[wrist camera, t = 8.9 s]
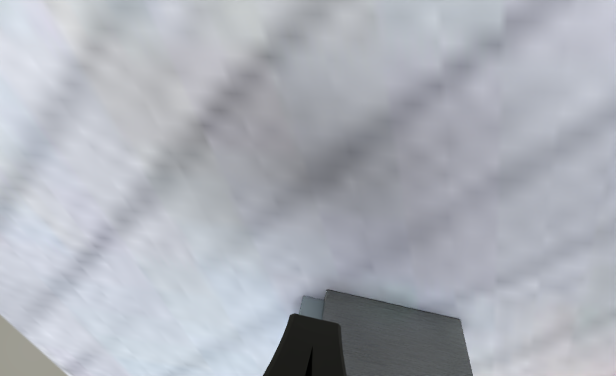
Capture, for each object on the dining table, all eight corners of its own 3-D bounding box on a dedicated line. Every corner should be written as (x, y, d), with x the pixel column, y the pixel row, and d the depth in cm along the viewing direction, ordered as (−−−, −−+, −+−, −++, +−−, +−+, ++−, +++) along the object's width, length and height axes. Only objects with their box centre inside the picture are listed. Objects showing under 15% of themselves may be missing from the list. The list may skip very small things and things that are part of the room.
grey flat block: (460, 319, 23) (489, 450, 17) (454, 330, 23) (480, 460, 18) (327, 289, 23) (310, 408, 17) (324, 300, 24) (307, 418, 18)
